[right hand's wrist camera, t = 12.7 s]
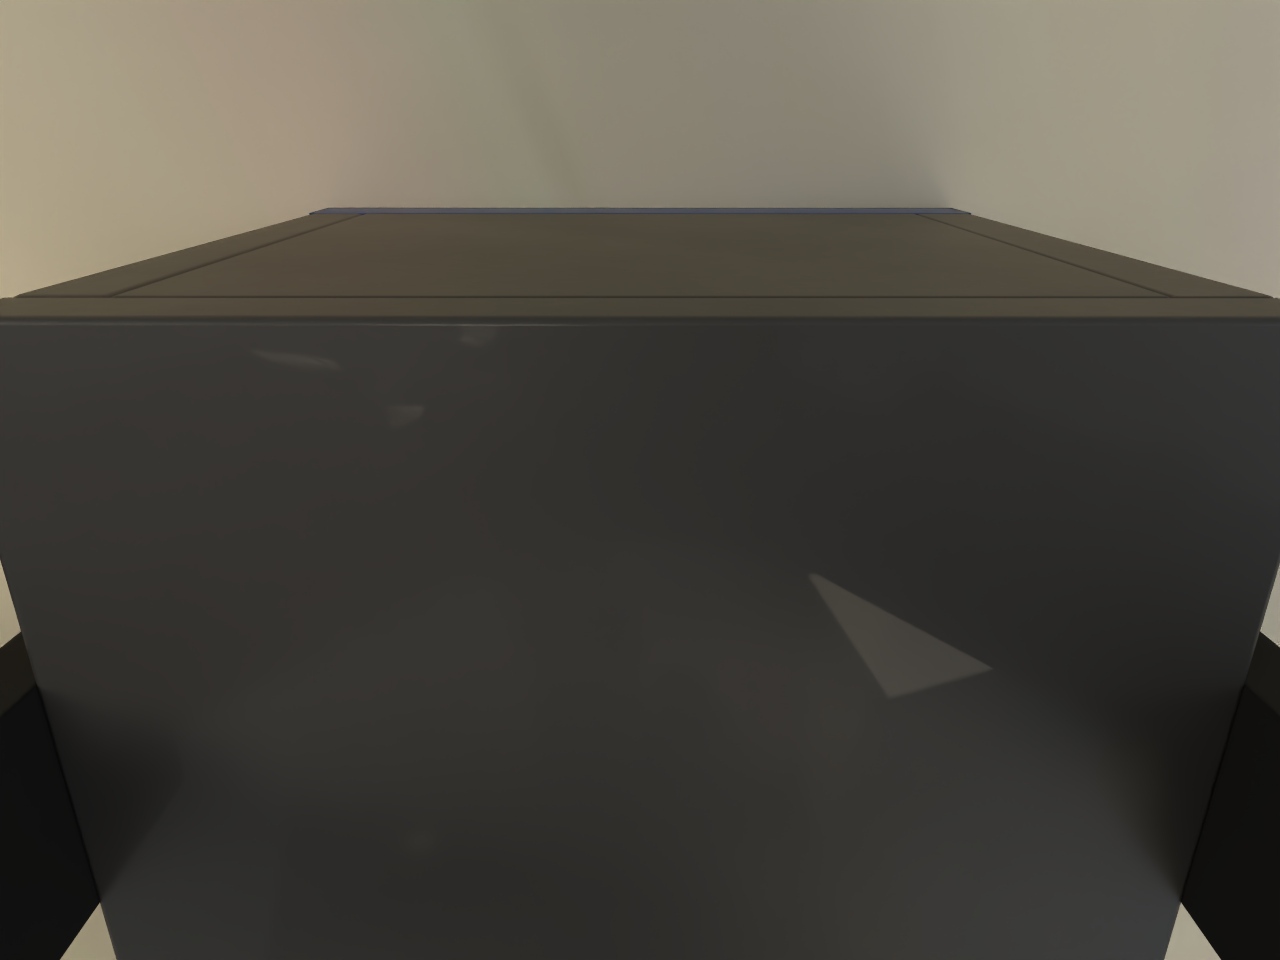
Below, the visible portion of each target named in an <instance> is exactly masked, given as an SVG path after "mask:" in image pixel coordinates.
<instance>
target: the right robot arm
mask: <svg viewBox="0 0 1280 960" xmlns="http://www.w3.org/2000/svg"><path fill="white" fill-rule="evenodd" d="M99 903H100V900H99V897H98V894H97V890H96V887H95V883H94V880H93V876H92V873H91V869H90V866H89V863H88V859H87V856H86V852H85V849H84V845H83V842H82V839H81V835H80V832H79V828H78V825H77V821H76V818H75V814H74V811H73V808H72V804H71V801H70V797H69V794H68V790H67V787H66V783H65V780H64V777H63V773H62V770H61V766H60V763H59V759H58V756H57V753H56V749H55V746H54V742H53V739H52V735H51V732H50V728H49V725H48V722H47V718H46V715H45V711H44V708H43V704H42V701H41V697H40V694H39V691H38V687H37V684H36V680H35V677H34V673H33V670H32V667H31V663H30V660H29V656H28V653H27V649H26V646H25V642H24V639H23V636H22V632H20V633H19V634H17V635H16V636H15V637H14V638H12V639H11V640H10V641H9V642H7V643H6V644H5V645H4V646H3V647H1V648H0V960H60V959H61V957H62V956H63V954H64V953H65V952H66V950H67V949H68V947H69V946H70V944H71V943H72V942H73V940H74V939H75V937H76V936H77V934H78V933H79V931H80V930H81V929H82V927H83V926H84V924H85V923H86V921H87V920H88V919H89V917H90V916H91V914H92V913H93V911H94V910H95V908H96V907H97V906H98V904H99ZM1181 903H1182V904H1183V906H1184V907H1185V909H1186V910H1187V911H1188V913H1189V914H1190V916H1191V917H1192V919H1193V920H1194V921H1195V923H1196V924H1197V926H1198V927H1199V929H1200V930H1201V931H1202V933H1203V934H1204V936H1205V937H1206V939H1207V940H1208V942H1209V943H1210V944H1211V946H1212V947H1213V949H1214V950H1215V952H1216V953H1217V954H1218V956H1219V957H1220V959H1221V960H1280V647H1278V646H1277V645H1276V644H1275V643H1274V642H1272V641H1271V640H1270V639H1269V638H1267V637H1266V636H1265V635H1264V634H1263V633H1261V632H1260V633H1259V636H1258V639H1257V643H1256V646H1255V650H1254V653H1253V657H1252V660H1251V663H1250V667H1249V670H1248V674H1247V677H1246V680H1245V684H1244V687H1243V691H1242V694H1241V698H1240V701H1239V704H1238V708H1237V711H1236V715H1235V718H1234V722H1233V725H1232V728H1231V732H1230V735H1229V739H1228V742H1227V746H1226V749H1225V752H1224V756H1223V759H1222V763H1221V766H1220V769H1219V773H1218V776H1217V780H1216V783H1215V787H1214V790H1213V793H1212V797H1211V800H1210V804H1209V807H1208V811H1207V814H1206V817H1205V821H1204V824H1203V828H1202V831H1201V835H1200V838H1199V841H1198V845H1197V848H1196V852H1195V855H1194V858H1193V862H1192V865H1191V869H1190V872H1189V876H1188V879H1187V882H1186V886H1185V889H1184V893H1183V896H1182V900H1181Z"/></svg>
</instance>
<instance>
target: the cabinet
mask: <svg viewBox="0 0 1280 960" xmlns="http://www.w3.org/2000/svg"><path fill="white" fill-rule="evenodd" d="M309 214H310V215H308V216H304V217H301V218H297V219H293V220H290V221H286V222H282V223H279V224H275V225H271V226H268V227H264V228H261V229H257V230H253V231H250V232H246V233H242V234H239V235H235V236H231V237H228V238H224V239H220V240H217V241H213V242H209V243H206V244H202V245H198V246H195V247H191V248H187V249H184V250H180V251H177V252H173V253H169V254H166V255H162V256H158V257H155V258H151V259H147V260H144V261H140V262H136V263H133V264H129V265H125V266H122V267H118V268H114V269H111V270H107V271H103V272H100V273H96V274H93V275H89V276H85V277H82V278H78V279H74V280H71V281H67V282H63V283H60V284H56V285H52V286H49V287H45V288H41V289H38V290H34V291H30V292H27V293H23V294H19V295H17V296H15V297H13V298H2V299H0V560H1V563H2V567H3V570H4V574H5V577H6V580H7V584H8V587H9V591H10V594H11V598H12V601H13V605H14V608H15V611H16V615H17V618H18V622H19V625H20V629H21V632H22V636H23V639H24V642H25V646H26V649H27V653H28V656H29V660H30V663H31V667H32V670H33V673H34V677H35V680H36V684H37V687H38V691H39V694H40V697H41V701H42V704H43V708H44V711H45V715H46V718H47V722H48V725H49V728H50V732H51V735H52V739H53V742H54V746H55V749H56V753H57V756H58V759H59V763H60V766H61V770H62V773H63V777H64V780H65V783H66V787H67V790H68V794H69V797H70V801H71V804H72V808H73V811H74V814H75V818H76V821H77V825H78V828H79V832H80V835H81V839H82V842H83V845H84V849H85V852H86V856H87V859H88V863H89V866H90V869H91V873H92V876H93V880H94V883H95V887H96V890H97V894H98V897H99V900H100V904H101V907H102V911H103V914H104V918H105V921H106V925H107V928H108V931H109V935H110V938H111V942H112V945H113V949H114V952H115V956H116V959H117V960H1164V958H1165V954H1166V951H1167V948H1168V944H1169V941H1170V937H1171V934H1172V930H1173V927H1174V924H1175V920H1176V917H1177V913H1178V910H1179V906H1180V903H1181V900H1182V896H1183V893H1184V889H1185V886H1186V882H1187V879H1188V876H1189V872H1190V869H1191V865H1192V862H1193V858H1194V855H1195V852H1196V848H1197V845H1198V841H1199V838H1200V835H1201V831H1202V828H1203V824H1204V821H1205V817H1206V814H1207V811H1208V807H1209V804H1210V800H1211V797H1212V793H1213V790H1214V787H1215V783H1216V780H1217V776H1218V773H1219V769H1220V766H1221V763H1222V759H1223V756H1224V752H1225V749H1226V746H1227V742H1228V739H1229V735H1230V732H1231V728H1232V725H1233V722H1234V718H1235V715H1236V711H1237V708H1238V704H1239V701H1240V698H1241V694H1242V691H1243V687H1244V684H1245V680H1246V677H1247V674H1248V670H1249V667H1250V663H1251V660H1252V657H1253V653H1254V650H1255V646H1256V643H1257V639H1258V636H1259V633H1260V629H1261V626H1262V622H1263V619H1264V615H1265V612H1266V609H1267V605H1268V602H1269V598H1270V595H1271V591H1272V588H1273V585H1274V581H1275V578H1276V574H1277V571H1278V567H1279V564H1280V299H1277V298H1273V297H1271V296H1268V295H1265V294H1261V293H1257V292H1254V291H1250V290H1246V289H1243V288H1239V287H1235V286H1232V285H1228V284H1224V283H1221V282H1217V281H1213V280H1210V279H1206V278H1202V277H1199V276H1195V275H1191V274H1187V273H1184V272H1180V271H1176V270H1173V269H1169V268H1165V267H1162V266H1158V265H1154V264H1151V263H1147V262H1143V261H1140V260H1136V259H1132V258H1129V257H1125V256H1121V255H1118V254H1114V253H1110V252H1106V251H1103V250H1099V249H1095V248H1092V247H1088V246H1084V245H1081V244H1077V243H1073V242H1070V241H1066V240H1062V239H1059V238H1055V237H1051V236H1048V235H1044V234H1040V233H1037V232H1033V231H1029V230H1025V229H1022V228H1018V227H1014V226H1011V225H1007V224H1003V223H1000V222H996V221H992V220H989V219H985V218H981V217H978V216H974V215H971V213H968V212H964V211H960V210H957V209H953V208H327V209H323V210H319V211H315V212H312V213H309Z"/></svg>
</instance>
